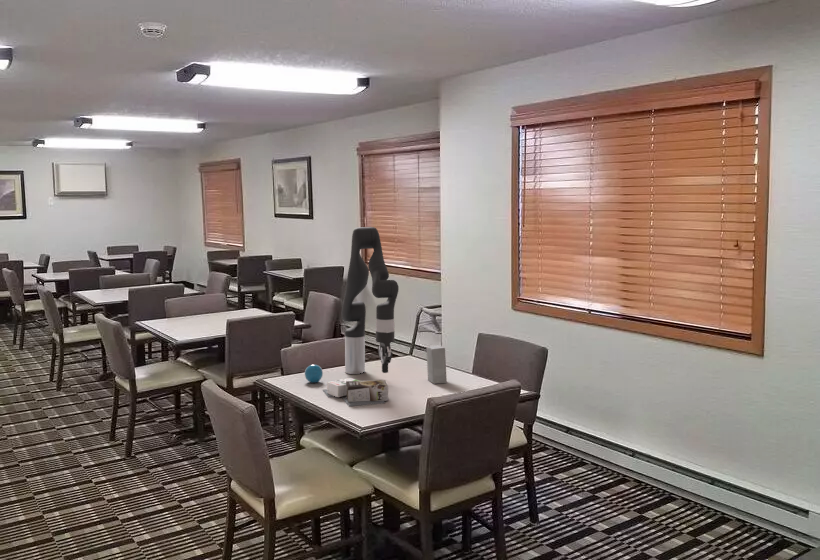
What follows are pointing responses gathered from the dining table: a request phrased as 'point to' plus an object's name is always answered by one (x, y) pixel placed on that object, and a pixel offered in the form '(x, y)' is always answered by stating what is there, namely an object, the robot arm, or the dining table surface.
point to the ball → (313, 373)
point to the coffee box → (366, 390)
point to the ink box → (338, 387)
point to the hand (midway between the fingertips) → (385, 372)
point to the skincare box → (436, 364)
